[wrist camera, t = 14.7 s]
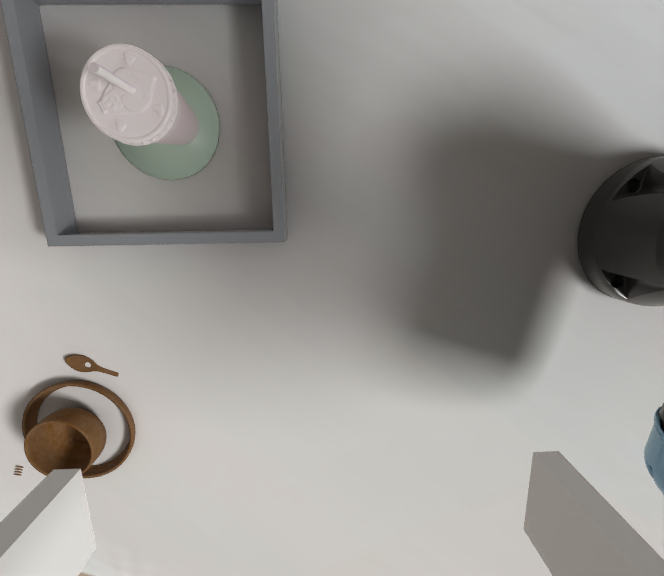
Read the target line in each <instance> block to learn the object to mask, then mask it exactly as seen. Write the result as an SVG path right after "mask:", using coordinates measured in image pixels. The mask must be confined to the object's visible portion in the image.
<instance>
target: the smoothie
mask: <svg viewBox="0 0 664 576" xmlns="http://www.w3.org/2000/svg"><path fill="white" fill-rule="evenodd" d="M80 96H81V101H82V104H83V107H84V109H85V111H86V113H87V115H88V117H89V118H90V120H91V121H92V123H93V124H94V125H95V126H96V127H97V128H98V129H99V130H100V131H101V132H103V133H104V134H105V135H107V136H109V137H111V138H113V139H115V140H117V141H119V142H121V143H123V144H128V145H133V146H141V145H149V144H151V143H161V144H173V145H186V144H189V143H191V142H192V141H193V140H194V139H195V138H196V136H197V134H198V131H199V122H198V118H197V116H196V114H195V113H194V111H193V110H192V109H191V107H190V106H189V105H188V103H187V102H186V101H185V100H184V98H183V97H182V96H181V94H180V93H179V92H178V90H177V89H176V87H175V84H174V82H173V79H172V77H171V75H170V74H169V72H168V71H167V70H166V68H165V67H164V65H163V64H162V63H160V62H159V61H158V60H157V59H156V58H155V57H153V56H152V55H150V54H149V53H148V52H146V51H144V50H143V49H141V48H138V47H136V46H133V45H129V44H111V45H108V46H105V47H103V48H101V49H99V50H98V51H96V52H95V53H94V54H93V55H92V56H91V57H90V58H89V59H88V61H87V62H86V64H85V66H84V68H83V70H82V73H81V78H80Z"/></svg>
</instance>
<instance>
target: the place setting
mask: <svg viewBox="0 0 664 576" xmlns="http://www.w3.org/2000/svg"><path fill="white" fill-rule="evenodd" d="M65 362H66V363H67V364H68V365H69V366H70V367H71V368H73V369H75V370H77V371H80V372H91V371H99V372H103V373H107V374H110V375H113V376H116V377H118V374H119V373H117V372H114V371H111V370H108V369H105V368H102V367H100V366H98V365H97V364H96V363H95V362H94V361H93V360H91V359H90V358H88V357H85V356H81V355H71V356H68V357H66V358H65ZM86 362H89V363H91V367H86V366H85V363H86ZM66 386H78V387H84V388H88V389H91V390H94V391H96V392H99V393H100V394H102V395H104V396H106V397H107V398H109V399H110V400H111V401H112V402H113V403H115V404H116V406H117V407H118V408H119V409H120V410H121V412H122V413H123V415H124V416H125V418H126V420H127V423H128V426H129V431H130V440H129V442H128V445H127V447H126V448H125V450H124V451H123V452H122V453H121V454H120V455H119V456H118V457H117V458H115V459H114V460H112V461H110V462H107V463H104V464H100V465H93V466H91V465H92V464H93V463H94V461H95V460H96V459H97V458H98V457H99V455H100V454H101V452H102V451H103V449H104V446H105V443H106V430H105V427H104V425H103V423H102V422H101V420H100V419H99V418H98V417H97V416H96V415H94V414H93V413H91V412H89V411H87V410H85V409H81V408H65V409H61V410H58V411H56V412H54V413H52V414H50V415H49V416H47V417H46V418H44V419H43V420H42V421H40V422H39V423H38V424H37V416H38V411H39V408H40V406H41V404H42V402H43V401H44V400H45V398H46V397H47V396H49V395H50V394H51V393H52V392H54V391H56V390H58V389H60V388H63V387H66ZM22 429H23V435H24V438H25V441H24V451H25V454H26V457H27V459H28V461H29V462H30V463H31V465H32V466H33V467H34V468H35V469H36V470H38V471H39V472H41V473H42V474H44V475H46V476H48V475H49V474H50V473H51V472H52V471H53V470H58V469H81V472H82V477H83V478H94V477H99V476H102V475H105V474H108V473H110V472H112V471H113V470H115V469H116V468H118V467H119V466H120V465H121V464H122V463H123V462H124V461H125V460H126V458H127V457H128V455H129V453H130V452H131V449H132V447H133V444H134V440H135V424H134V420H133V417H132V415H131V413H130V411H129V409H128V407H127V406H126V405H125V403H124V402H123V401H122V400H121V399H120V398H119V397H118V396H117V395H116V394H114V393H113V392H111V391H110V390H108V389H106V388H104V387H102V386H100V385H97V384H94V383H90V382H84V381H67V382H62V383H58V384H55V385H52V386H50V387H48V388H46V389H44V390H42V391H41V392H40V393H38V394H37V395H36V396H35V397H34V398H32V400H31V401H30V402H29V404H28V405H27V407H26V409H25V412H24V415H23V420H22ZM15 467H21V468H24V467H22V466H15ZM16 470H22V469H16ZM14 472H18V473H22V472H20V471H14ZM14 475H21V474H14Z"/></svg>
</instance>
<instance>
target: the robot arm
mask: <svg viewBox="0 0 664 576" xmlns="http://www.w3.org/2000/svg"><path fill="white" fill-rule="evenodd" d="M578 251H579V257H580V261H581V265H582V267H583V270H584V272H585V273H586V275H587V277H588V278H589V280H590V281H591V282H592V283H593V284H594V285H595V286H596V287H597V288H598V289H599V290H600V291H602V292H603V293H605V294H607V295H609V296H611V297H613V298H616V299H619V300H623V301H626V302H629V303H632V304H637V305H643V306H664V156H658V157H651V158H646V159H643V160H640V161H637V162H634V163H632V164H630V165H628V166H626V167H624V168H623V169H621V170H619V171H618V172H617V173H615V174H614V175H613V176H611V177H610V178H609V179H608V180H607V181H606V182H605V183H604V184H603V185H602V186H601V187H600V188H599V189H598V191H597V192H596V193H595V195H594V196H593V198H592V199H591V201H590V202H589V204H588V206H587V208H586V210H585V212H584V215H583V218H582V221H581V224H580V229H579V235H578ZM644 459H645V463H646V466H647V468H648V471H649V473H650V475H651V476H652V477H653V479H654V481H655V483H656V485H657V486H658V488H659V489H660V490H661V492H662V493H663V494H664V403H663V405H662V407H659V408H658V409H657V411H656V413H655V415H654V425H653V428H652V431H651V433H650V436H649V439H648V441H647V444H646V446H645V450H644ZM524 530H525V532H526V534H527V535H528V537H529V538H530V540H531V542H532V543H533V545H534V546H535V548H536V550H537V551H538V553H539V554H540V556H541V558H542V559H543V561H544V562H545V564H546V566H547V567H548V569H549V570H550V572H551V574H552V575H553V576H664V560H663V559H662V558H661V557H660V556H659V555H658V554H657V553H656V552H655V551H654V549H653V548H652V547H651V546H650V545H649V544H648V543H647V542H646V541H645V540H644V539H643V538H642V537H641V536H640V535H639V534H638V533H637V532H636V531H635V530H634V529H633V528H632V527H631V526H630V525H629V524H628V523H627V522H626V520H625V519H624V518H623V517H622V516H621V515H620V514H619V513H618V512H617V511H616V510H615V509H614V508H613V507H612V506H611V505H610V504H609V503H608V502H607V501H606V500H605V499H604V498H603V497H602V496H601V495H600V494H599V493H598V491H597V490H596V489H595V488H594V487H593V486H592V485H591V484H590V483H589V482H588V481H587V480H586V479H585V478H584V477H583V476H582V475H581V474H580V473H579V472H578V471H577V470H576V469H575V468H574V467H573V466H572V465H571V464H570V462H569V461H568V460H567V459H566V458H565V457H564V456H563V455H562V454H561V453H560V452H559V451H553V452H533V458H532V466H531V474H530V482H529V490H528V498H527V506H526V514H525V522H524ZM95 549H96V542H95V537H94V532H93V527H92V522H91V517H90V512H89V507H88V502H87V497H86V492H85V487H84V482H83V477H82V472H81V469H58V470H53V471H52V472H51V473H50V474H49V475H48V476H47V477H46V478H45V479H44V480H43V481H42V482H41V483H40V484H39V485H38V486H37V487H36V488H35V489H34V490H33V491H32V492H31V493H30V494H29V495H28V496H27V497H26V498H25V499H24V500H23V501H22V502H21V503H20V504H19V505H18V506H17V507H15V508H14V509H13V510H12V511H11V512H10V513H9V514H8V515H7V516H6V517H5V518H4V519H3V520H2V521H1V522H0V576H78V575H79V573H80V572H81V570H82V569H83V567H84V566H85V564H86V563H87V561H88V560H89V558H90V556H91V555H92V553H93V552H94V550H95Z"/></svg>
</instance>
